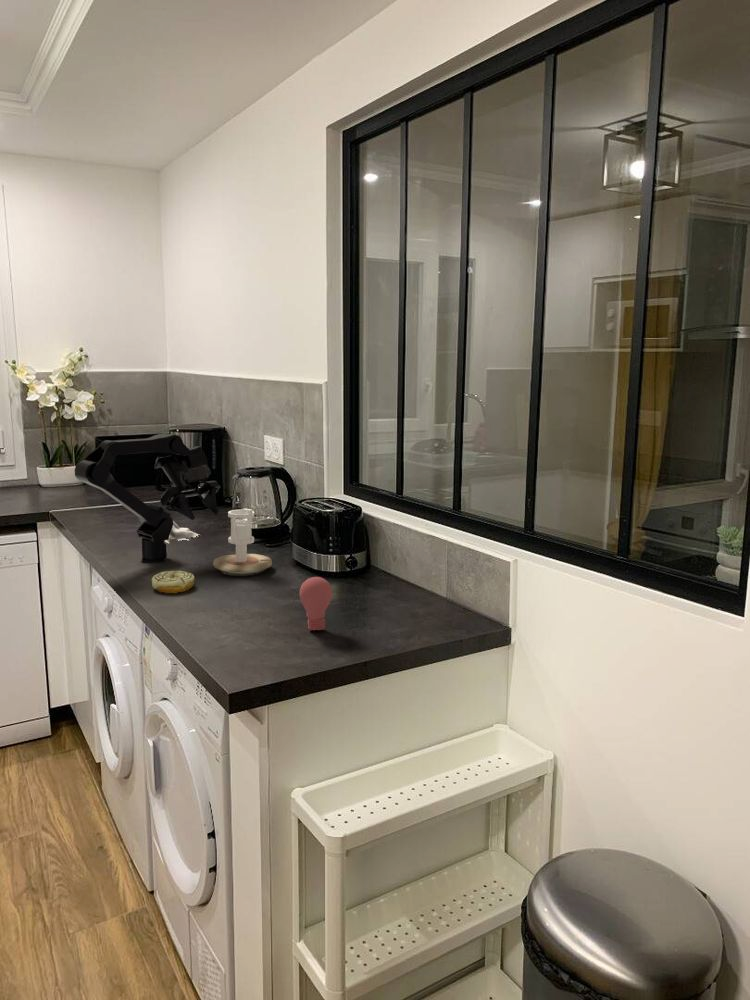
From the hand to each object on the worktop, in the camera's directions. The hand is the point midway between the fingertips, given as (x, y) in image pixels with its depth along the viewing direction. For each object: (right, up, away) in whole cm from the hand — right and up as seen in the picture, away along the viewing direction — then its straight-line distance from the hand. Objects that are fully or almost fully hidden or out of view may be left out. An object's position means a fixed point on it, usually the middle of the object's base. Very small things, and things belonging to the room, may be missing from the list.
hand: (205, 516), depth 213 cm
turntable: (+11, -13, -4) cm, 18 cm away
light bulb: (+35, -24, -49) cm, 65 cm away
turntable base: (+11, -15, -4) cm, 19 cm away
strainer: (+11, -12, -5) cm, 17 cm away
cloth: (-18, -8, +33) cm, 38 cm away
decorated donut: (-3, -18, -22) cm, 29 cm away
